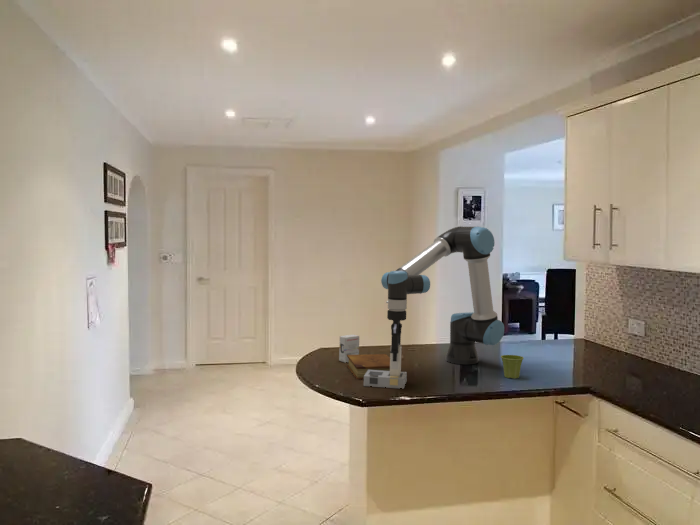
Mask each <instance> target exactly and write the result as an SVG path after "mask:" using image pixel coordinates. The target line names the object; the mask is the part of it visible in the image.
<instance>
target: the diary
mask: <svg viewBox="0 0 700 525" xmlns="http://www.w3.org/2000/svg"><path fill="white" fill-rule="evenodd" d="M347 357H348V359H349V362H348V364H346V367H347V368H348V370H349V369H350V370H349V371H350V372H351V374H352V373H353V374H352V375H353V377H354V378H355V377H356V378H355V379H356V380H364V375H365V374H366V372H367V371H368V370H383V371H390V356H388V355H387V354H386V353H377V354H375V353H374V354H369V353H368V354H359V355H347Z"/></svg>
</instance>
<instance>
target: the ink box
mask: <svg viewBox="0 0 700 525" xmlns="http://www.w3.org/2000/svg"><path fill="white" fill-rule="evenodd" d="M338 347H339V351H338V353H339V354H338V361H340V362H342V363H344V364H346V362H347V363H349V359H348V357H347V355H360V335H358V334H357V335H356V334H346V335H340V336H339V346H338Z"/></svg>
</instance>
